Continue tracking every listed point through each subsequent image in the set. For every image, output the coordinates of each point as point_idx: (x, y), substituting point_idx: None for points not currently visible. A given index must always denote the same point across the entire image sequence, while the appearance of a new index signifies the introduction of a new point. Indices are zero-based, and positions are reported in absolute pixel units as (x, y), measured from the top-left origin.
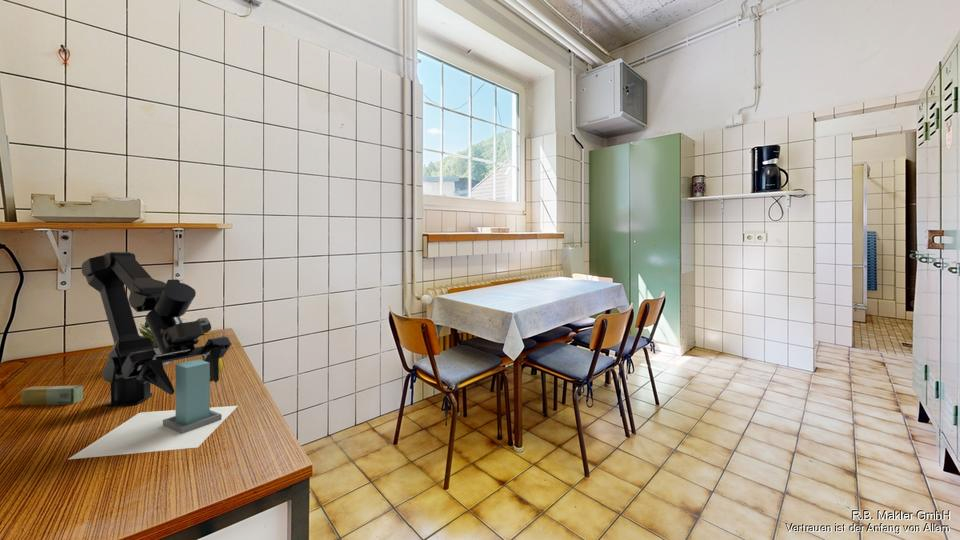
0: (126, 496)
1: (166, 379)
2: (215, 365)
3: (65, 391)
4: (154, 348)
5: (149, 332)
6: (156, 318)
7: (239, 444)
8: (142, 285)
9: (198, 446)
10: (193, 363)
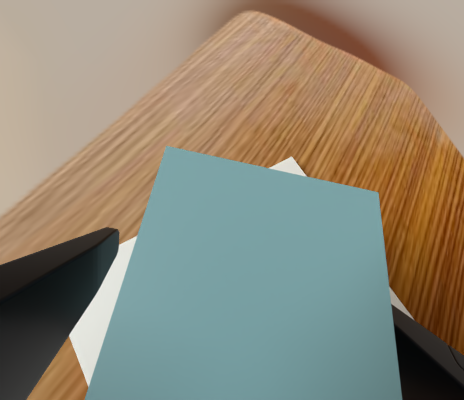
0: (399, 149)
1: (412, 327)
2: (14, 275)
3: None
4: None
5: None
6: None
7: (234, 117)
8: None
9: (288, 158)
10: (264, 274)
